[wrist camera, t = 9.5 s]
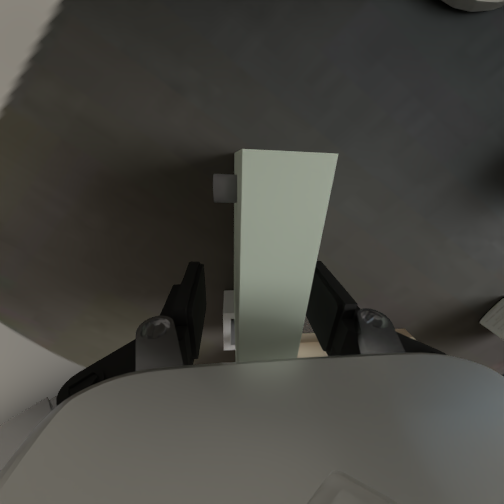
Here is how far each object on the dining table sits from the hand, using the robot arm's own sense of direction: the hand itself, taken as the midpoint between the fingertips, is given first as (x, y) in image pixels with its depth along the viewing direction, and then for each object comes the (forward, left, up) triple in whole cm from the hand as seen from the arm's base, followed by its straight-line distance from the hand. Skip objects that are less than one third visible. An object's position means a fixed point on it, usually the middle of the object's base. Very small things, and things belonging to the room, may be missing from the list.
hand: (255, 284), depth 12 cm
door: (+1, 0, -6) cm, 6 cm away
